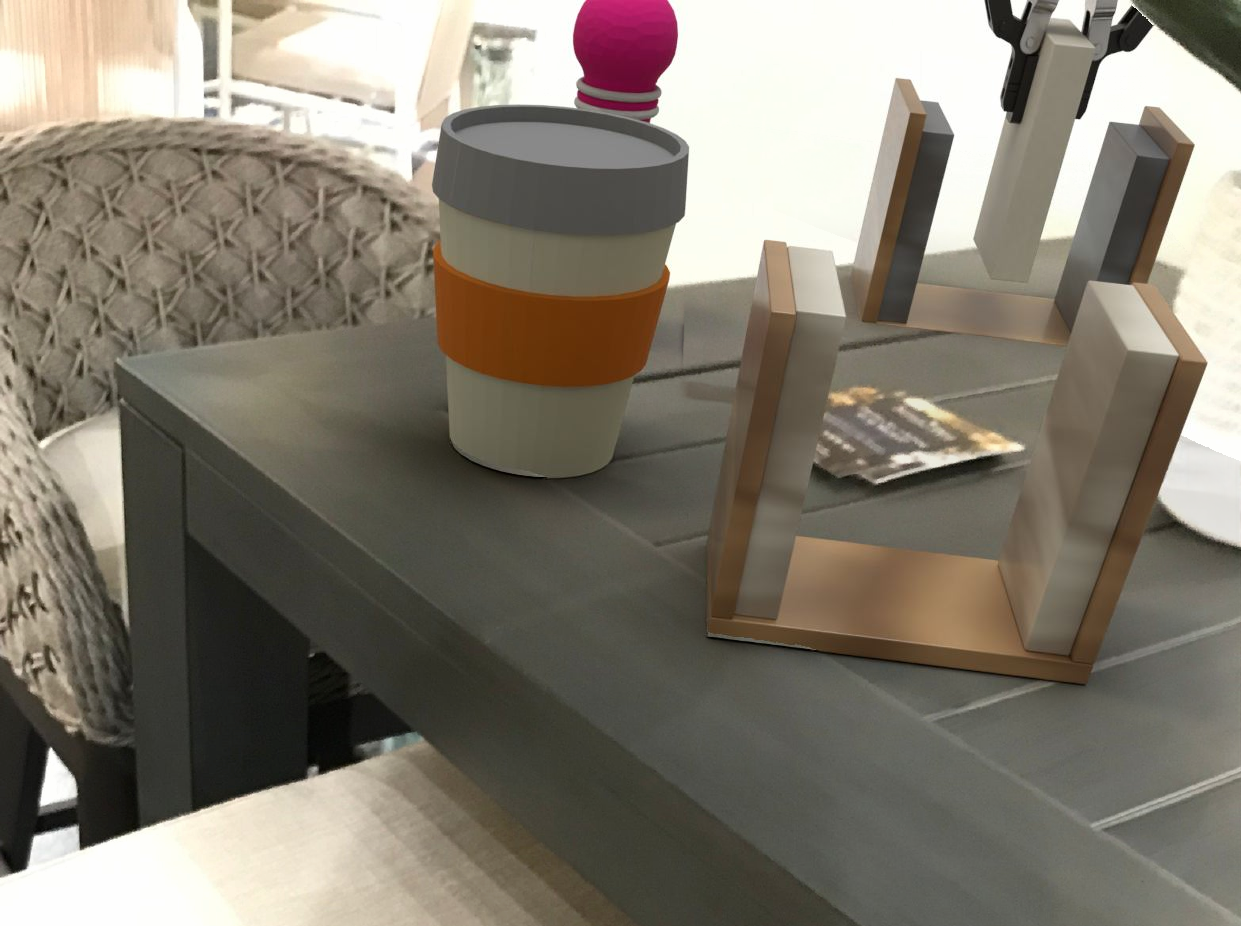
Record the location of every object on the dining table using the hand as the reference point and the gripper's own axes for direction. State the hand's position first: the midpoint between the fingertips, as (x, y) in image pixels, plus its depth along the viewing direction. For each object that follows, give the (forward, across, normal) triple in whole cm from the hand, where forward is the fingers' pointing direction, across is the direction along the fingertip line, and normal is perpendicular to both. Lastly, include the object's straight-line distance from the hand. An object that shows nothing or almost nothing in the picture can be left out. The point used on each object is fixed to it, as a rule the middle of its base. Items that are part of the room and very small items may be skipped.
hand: (1038, 122), depth 101 cm
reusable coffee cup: (+12, -28, -30) cm, 43 cm away
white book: (+8, 0, 0) cm, 8 cm away
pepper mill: (+12, -26, -9) cm, 30 cm away
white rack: (+12, -10, -45) cm, 48 cm away
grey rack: (+12, 0, 0) cm, 12 cm away
